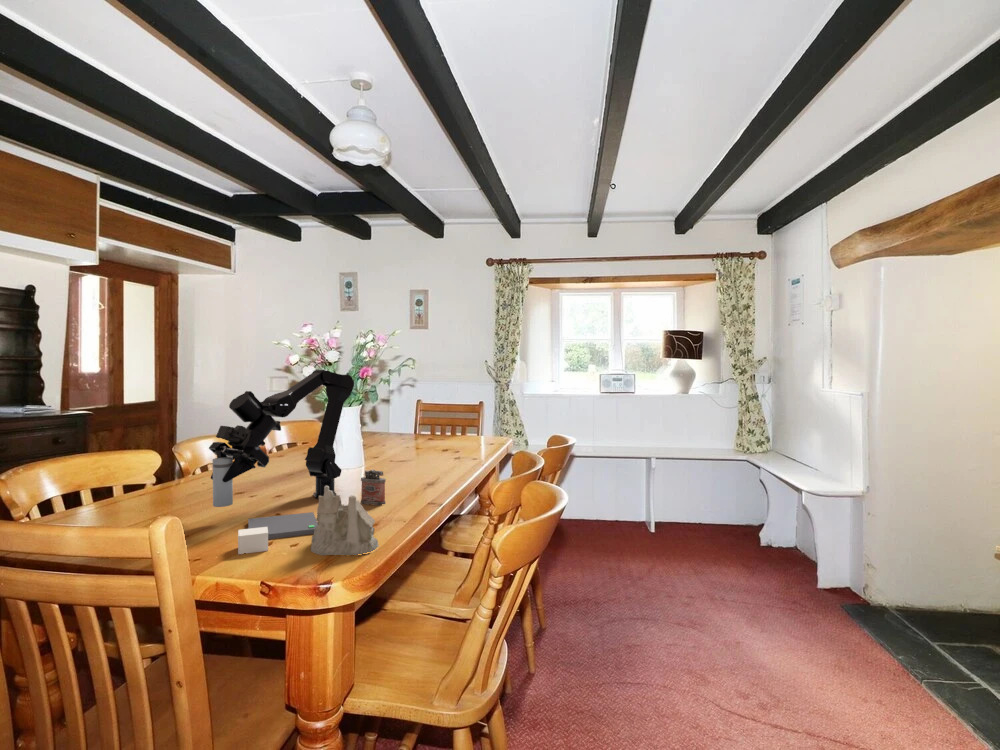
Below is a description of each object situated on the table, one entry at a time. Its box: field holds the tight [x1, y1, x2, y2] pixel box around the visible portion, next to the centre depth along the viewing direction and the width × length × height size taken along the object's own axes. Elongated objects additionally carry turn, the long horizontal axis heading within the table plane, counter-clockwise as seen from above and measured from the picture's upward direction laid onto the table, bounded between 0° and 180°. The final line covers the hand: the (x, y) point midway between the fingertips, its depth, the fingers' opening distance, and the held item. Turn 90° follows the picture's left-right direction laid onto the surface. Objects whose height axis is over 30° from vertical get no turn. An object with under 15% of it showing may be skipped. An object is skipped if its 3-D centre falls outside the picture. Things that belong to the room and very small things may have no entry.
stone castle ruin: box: [310, 485, 379, 556], centre depth 124 cm, size 16×16×15 cm
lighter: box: [360, 469, 387, 506], centre depth 161 cm, size 8×3×10 cm, turn 70°
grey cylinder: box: [212, 457, 234, 508], centre depth 140 cm, size 5×5×12 cm
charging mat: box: [237, 511, 318, 555], centre depth 132 cm, size 24×18×4 cm
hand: (217, 480), depth 138 cm, fingers closed on grey cylinder, 5 cm apart
